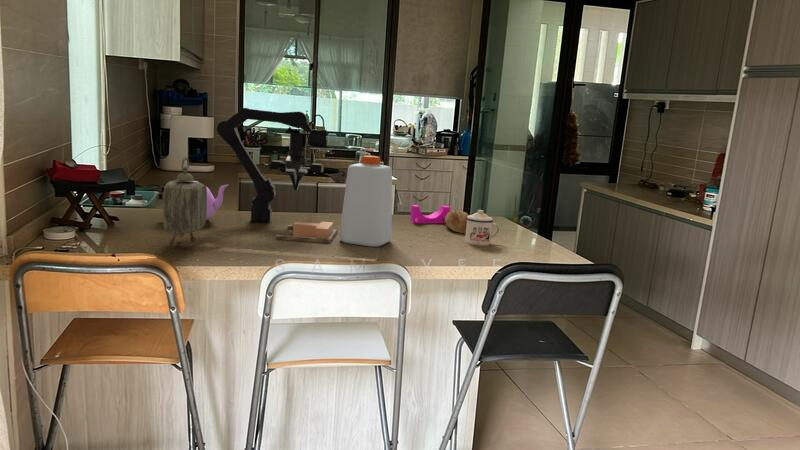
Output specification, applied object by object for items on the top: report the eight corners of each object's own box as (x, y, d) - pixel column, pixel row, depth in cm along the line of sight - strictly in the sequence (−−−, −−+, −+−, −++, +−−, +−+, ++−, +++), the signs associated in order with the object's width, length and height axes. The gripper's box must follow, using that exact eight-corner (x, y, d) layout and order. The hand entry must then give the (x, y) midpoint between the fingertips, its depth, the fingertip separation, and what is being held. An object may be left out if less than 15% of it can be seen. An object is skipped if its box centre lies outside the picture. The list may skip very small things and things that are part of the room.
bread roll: (451, 235, 219) (453, 214, 217) (439, 227, 233) (441, 207, 232) (476, 236, 221) (478, 214, 220) (463, 228, 235) (464, 208, 234)
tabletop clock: (176, 235, 185) (177, 154, 180) (207, 237, 186) (208, 156, 181) (163, 246, 171) (163, 158, 166) (195, 248, 172) (196, 160, 167)
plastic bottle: (377, 248, 188) (384, 159, 183) (334, 242, 193) (339, 155, 188) (395, 240, 202) (401, 157, 197) (354, 234, 207) (359, 153, 202)
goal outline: (275, 239, 191) (276, 235, 190) (288, 228, 209) (288, 224, 209) (329, 243, 190) (329, 239, 190) (337, 232, 208) (337, 228, 208)
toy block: (443, 222, 244) (444, 204, 242) (448, 225, 238) (450, 207, 236) (408, 222, 239) (409, 203, 238) (412, 225, 233) (414, 206, 232)
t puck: (290, 238, 194) (290, 226, 193) (297, 231, 205) (298, 219, 205) (327, 241, 193) (327, 229, 193) (332, 233, 205) (333, 222, 204)
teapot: (232, 218, 220) (233, 180, 217) (223, 226, 205) (224, 186, 202) (170, 214, 218) (170, 176, 215) (157, 222, 202) (157, 182, 200)
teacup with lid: (467, 245, 203) (470, 211, 200) (461, 239, 212) (464, 207, 209) (501, 247, 204) (505, 213, 202) (494, 241, 213) (498, 209, 211)
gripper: (266, 146, 206) (264, 191, 209) (319, 150, 206) (317, 195, 209) (273, 144, 217) (272, 187, 220) (324, 148, 217) (322, 191, 220)
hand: (295, 190), depth 217 cm, fingers closed
